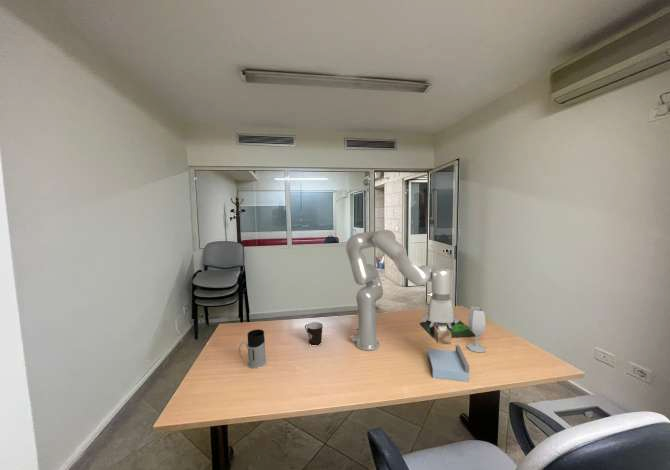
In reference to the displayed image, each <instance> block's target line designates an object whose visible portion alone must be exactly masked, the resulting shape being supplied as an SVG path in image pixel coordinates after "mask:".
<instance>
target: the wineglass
mask: <svg viewBox="0 0 670 470" xmlns="http://www.w3.org/2000/svg"><path fill="white" fill-rule="evenodd" d="M467 322H468V323H467V324H468V325H467V326H468V327H469V329H470V330H471V331H472V332H473V333H474V334H475V336H474V342H469V343H467V344H466V347H467V349H468V350H470V351H471V352H475V353H486V347H485V346H484V345H483V344H481V343H479V336H480V335H481V334H484V333H485V330H486V325H487V324H486V322H487V319H486V312H485V309H484V308H482V307H478V306H471V307H470V310H469V313H468V321H467Z"/></svg>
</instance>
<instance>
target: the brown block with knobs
mask: <svg viewBox="0 0 670 470" xmlns="http://www.w3.org/2000/svg"><path fill="white" fill-rule="evenodd" d="M433 327H434V336H433V337H434V338H433V339H434V340H435V342H436V344H438V345H452V338H451V332H450V331H449V329H448V328H447V327H446V326H445V324H444V323H436V322H434V324H433Z"/></svg>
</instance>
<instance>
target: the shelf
mask: <svg viewBox="0 0 670 470" xmlns="http://www.w3.org/2000/svg"><path fill="white" fill-rule="evenodd" d="M427 358H428V359H429V361H430V364H431V369H432V370H431V371H432V378H433V379H435V380H436V379H439V380H446V381H447V380H448V381H456V382H465V383H469V382H470V381H469V380H470V365H469V363H468V361H467V359H466V357H465V354H464V353H463V350H462V348H461V347H460V345H459V344H456V345H455V350H450V349H448V350H447V349H435V348H428V349H427Z"/></svg>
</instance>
